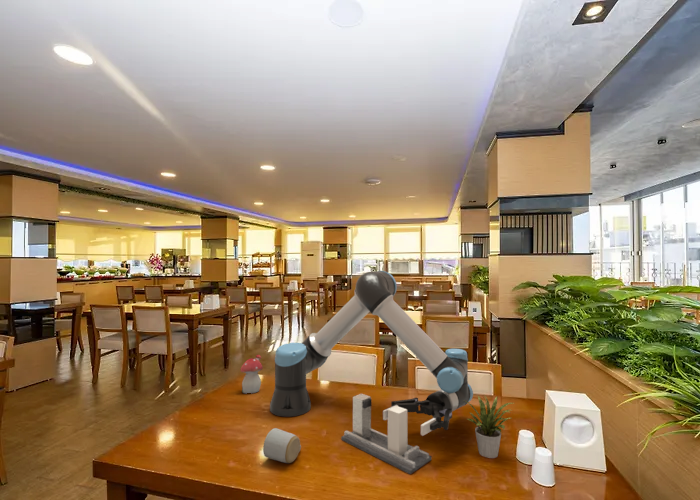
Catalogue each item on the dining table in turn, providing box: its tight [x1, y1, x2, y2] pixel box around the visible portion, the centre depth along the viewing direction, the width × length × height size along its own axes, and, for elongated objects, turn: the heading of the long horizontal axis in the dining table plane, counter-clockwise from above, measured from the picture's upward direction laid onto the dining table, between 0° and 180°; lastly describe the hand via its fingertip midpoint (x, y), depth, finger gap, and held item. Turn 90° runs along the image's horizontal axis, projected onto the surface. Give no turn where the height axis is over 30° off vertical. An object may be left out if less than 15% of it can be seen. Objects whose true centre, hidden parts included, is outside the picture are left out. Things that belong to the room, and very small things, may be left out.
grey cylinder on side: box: [262, 427, 302, 464], centre depth 104 cm, size 11×8×8 cm
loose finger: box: [387, 406, 408, 456], centre depth 105 cm, size 5×4×12 cm
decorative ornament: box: [240, 354, 263, 394], centre depth 156 cm, size 9×7×15 cm
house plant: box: [464, 394, 514, 459], centre depth 105 cm, size 14×14×16 cm
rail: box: [341, 393, 432, 475], centre depth 108 cm, size 26×10×13 cm, turn 45°
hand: (401, 422), depth 105 cm, fingers open, 13 cm apart
